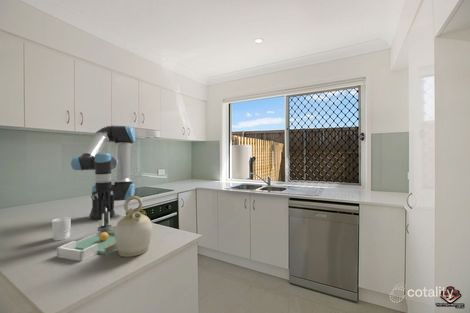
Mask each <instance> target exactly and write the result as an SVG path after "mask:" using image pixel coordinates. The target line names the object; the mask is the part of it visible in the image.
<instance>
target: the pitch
mask: <svg viewBox="0 0 470 313" xmlns="http://www.w3.org/2000/svg"><path fill="white" fill-rule="evenodd" d="M105 232H106V231H105ZM101 233H102V232H100V231H98V232H97V233H93V234H91V235H89V236H86V237H83V238H82V239H79V240H75V241H76V249H77V250H84V249H86V248H88V247H90V246H92V245H95V244H98V253H97V254H99V255H108V254H110V253H112V252H114V251H115V250H118V249H117V245H116V241H115V235H114V233H113V232H106V233H108V238H107V239H106V240H104V241H101V240H100V239H99V235H100V234H101Z"/></svg>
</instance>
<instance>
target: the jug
mask: <svg viewBox="0 0 470 313" xmlns="http://www.w3.org/2000/svg"><path fill="white" fill-rule="evenodd" d="M132 200H136V201H138V207H136V208H133V207H131V208H130V209H129V207H128V205H129V202H131V201H132ZM143 204H144V202H143V200H142V198H141V197H140V196H137V195H134V196H131V197H129V198H127V199H126V200H125V201H124V203H123V209H124V211H125V213H126V212H128V215H127V216H126V215H125V216H123V217H122V218H121V219H119V220H118V221H117V223H116V225H115V226H114V227H115V233H114V235H115V241H116V245H117V249H116V250H117V251H118V255H119V256H121V257H125V258H131V257H136V256H140V255H143V254H144V253H146V252H147V251H148V250H149V248H150V245H151V240H152V233H153V224H152V223H153V222H152V220H151V219H150V218H149V217H148V216H147V215H146V214H145V215H143V214H141V213H140V212H139V211H140V210H142V208H143Z"/></svg>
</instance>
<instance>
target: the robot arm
mask: <svg viewBox="0 0 470 313" xmlns="http://www.w3.org/2000/svg"><path fill="white" fill-rule="evenodd" d="M135 142H136V135H135V130H134V128H133V127H132V126H127V125H124V126H123V125H120V126H119V125H108V126H104V127H103V128H100V129H98V130H97V131H96V132H94V134H93V136H92V140H91V141H90V143H89V144H88V145H87V147H86V148H85V149H84V151H83V153H82V154H81V155H80V156H75V157H72V159H71V160H70V161H71V162H70V165H71V168H72V170H74V171H93V170H94V176H95V178H94V179H95V180H94V181H95V183H94V185H92V187H91V196H90V198H91V204H92V205H91V206H92V207H91V210H90V213H89V219H90V220H97V221H98V227H100V226H104V214H103V208H104V207H107V213H108V225H111V218H113V217H115V202H117V201H118V202H119V201H124V202H125V201H126V199H127V198H129V197H131V196H135V191H136V184H135V183H133V180H132V179H131V147H132V146H133V144H134V143H135ZM108 143H114V145H115V146H117V147H116V148H117V149H116V151H117V152H116V153H117V154H116V157H115V156H112V155H111V153H107V152H106V153H104V152H103V153H101V151H102V150H103V148H104V147H105V146H106V145H107V144H108ZM115 168H116V180H115V181H114V182H113V184H112V170H114V169H115Z"/></svg>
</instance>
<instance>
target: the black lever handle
mask: <svg viewBox="0 0 470 313" xmlns="http://www.w3.org/2000/svg"><path fill="white" fill-rule="evenodd" d="M103 214H104V226H98V227H97V232H105V231H106V232H113V233H115V227H116V226H112V224H108V213H107V207H104V208H103Z"/></svg>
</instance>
